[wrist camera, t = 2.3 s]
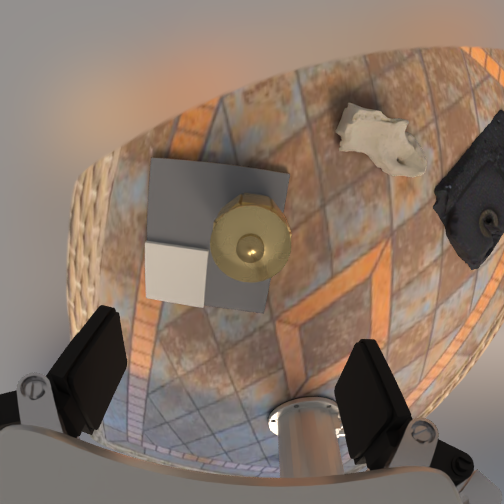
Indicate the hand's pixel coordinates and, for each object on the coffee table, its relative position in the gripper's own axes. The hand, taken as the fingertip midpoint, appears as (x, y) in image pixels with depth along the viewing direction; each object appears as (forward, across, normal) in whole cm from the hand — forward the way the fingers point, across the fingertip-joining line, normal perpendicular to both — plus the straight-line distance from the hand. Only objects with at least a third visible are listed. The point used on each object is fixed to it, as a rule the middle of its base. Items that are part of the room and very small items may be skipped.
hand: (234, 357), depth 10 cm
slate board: (+20, +4, +3) cm, 21 cm away
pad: (+20, +7, +7) cm, 22 cm away
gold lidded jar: (+16, 0, 0) cm, 17 cm away
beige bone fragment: (+21, -12, -10) cm, 26 cm away
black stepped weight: (+21, -32, -10) cm, 40 cm away
